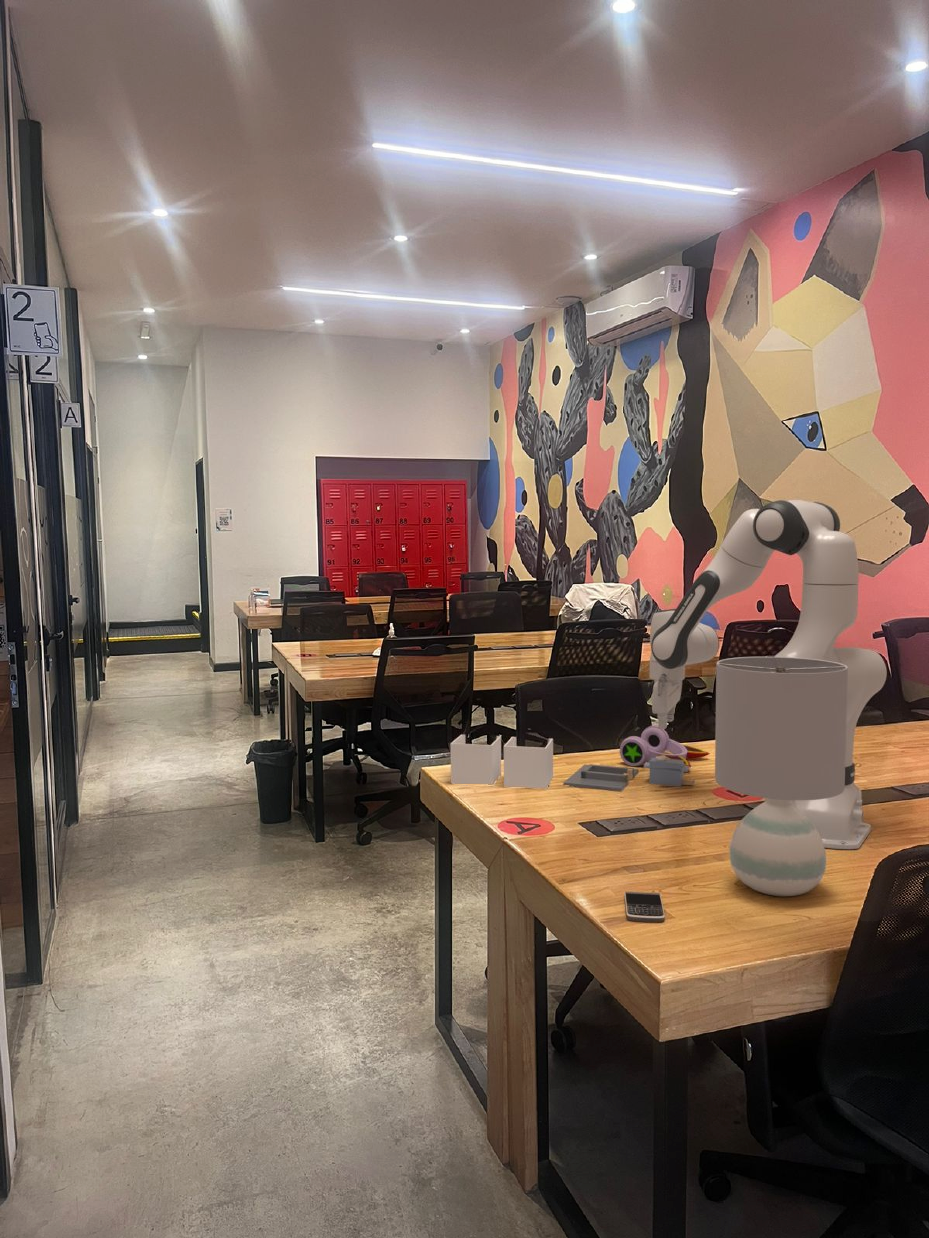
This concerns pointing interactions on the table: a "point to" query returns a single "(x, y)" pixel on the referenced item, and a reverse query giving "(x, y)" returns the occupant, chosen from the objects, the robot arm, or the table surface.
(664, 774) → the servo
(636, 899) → the cell phone
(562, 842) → the table surface
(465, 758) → the double compartment bin
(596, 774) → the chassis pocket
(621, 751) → the headphones
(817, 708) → the lamp
